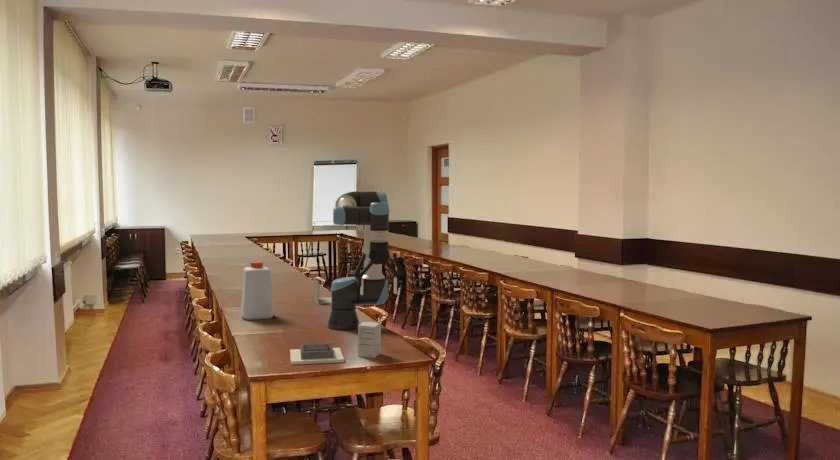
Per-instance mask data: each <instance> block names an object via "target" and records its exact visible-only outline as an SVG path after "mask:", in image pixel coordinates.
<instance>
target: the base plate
mask: <svg viewBox="0 0 840 460" xmlns="http://www.w3.org/2000/svg"><path fill="white" fill-rule="evenodd" d="M332 348H333V351H334V358H316V359H301V355H300V348H299V349H297V348H296V349H295V348H294V349H293V348H292V349H289V355H290V365H291V366H292V365H293V366H294V365H311V364H313V365H314V364H335V363H337V364H339V363H345V357H344V355H343V353H342V350H341V347H332ZM304 352H311V351H304Z"/></svg>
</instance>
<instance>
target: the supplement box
mask: <svg viewBox="0 0 840 460" xmlns="http://www.w3.org/2000/svg"><path fill="white" fill-rule="evenodd" d="M381 337H382V324H381V322H371V321H363V322H362V323H361V324H360V323H359V325H358V328H357V356H358V357H362V358H369V359H370V358H371V359H372V358H373V359H375V358H377V357H378V356H379V355H381V353H382V351H381V350H382V338H381Z"/></svg>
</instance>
